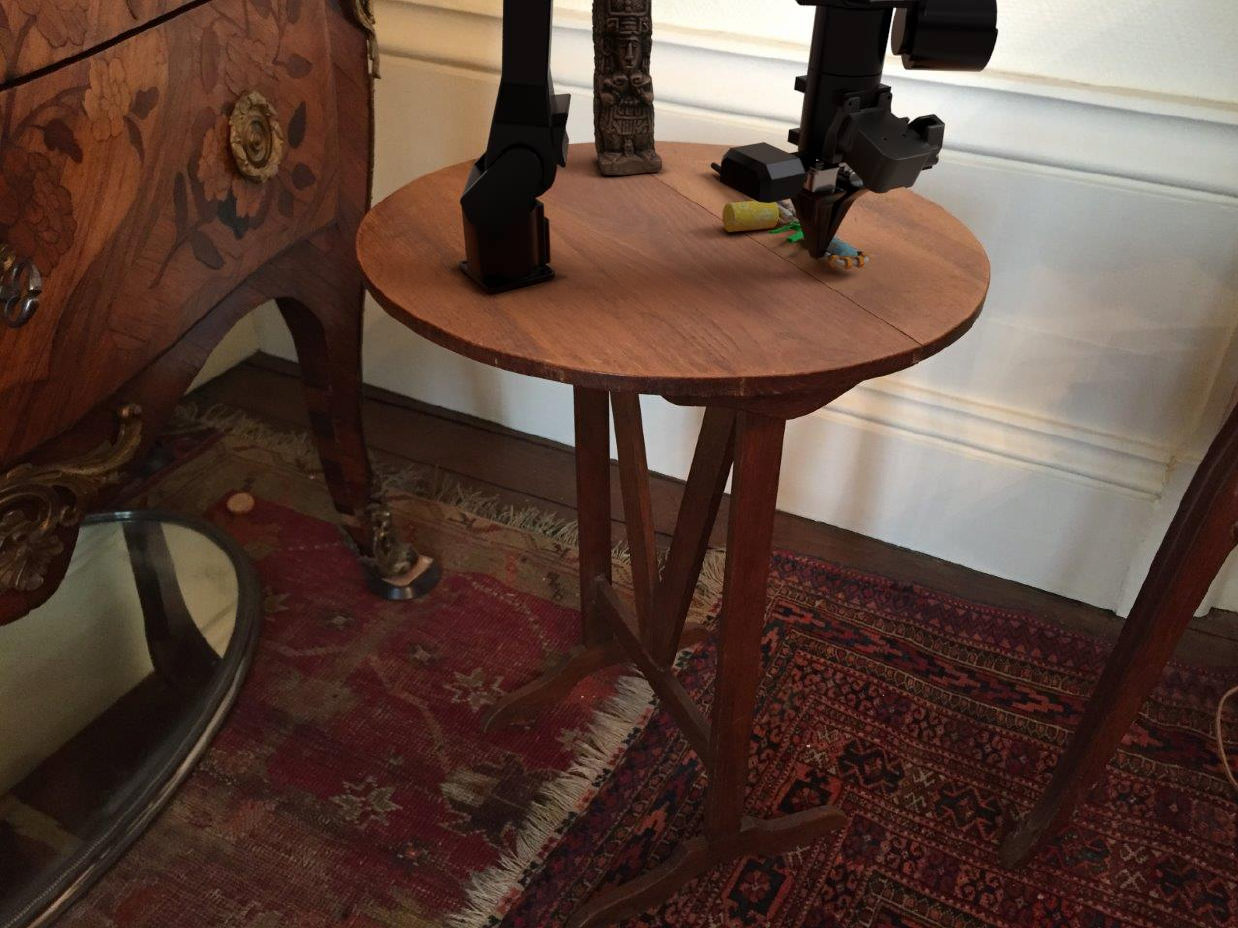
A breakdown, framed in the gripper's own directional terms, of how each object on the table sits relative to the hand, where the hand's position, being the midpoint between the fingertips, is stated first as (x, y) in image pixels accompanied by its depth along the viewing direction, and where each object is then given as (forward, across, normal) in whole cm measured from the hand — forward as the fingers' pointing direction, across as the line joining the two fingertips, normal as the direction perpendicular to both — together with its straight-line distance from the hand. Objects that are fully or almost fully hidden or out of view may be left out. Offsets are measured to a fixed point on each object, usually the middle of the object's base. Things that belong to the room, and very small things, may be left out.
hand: (815, 257), depth 83 cm
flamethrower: (+2, +4, +12) cm, 13 cm away
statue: (+2, +1, +33) cm, 33 cm away
